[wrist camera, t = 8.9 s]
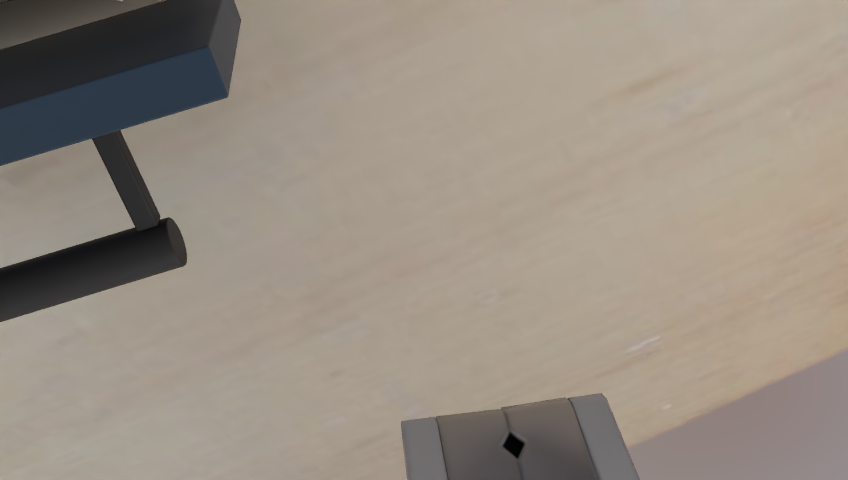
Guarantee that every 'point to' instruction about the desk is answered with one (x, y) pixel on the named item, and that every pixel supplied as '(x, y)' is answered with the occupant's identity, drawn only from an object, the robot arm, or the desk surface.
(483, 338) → the desk surface
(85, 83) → the drawer
